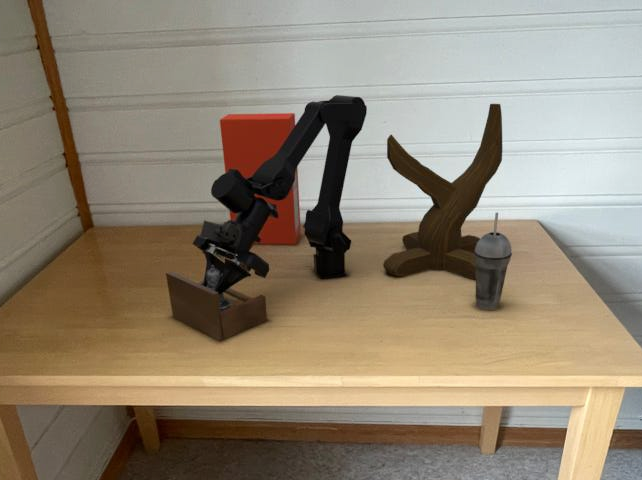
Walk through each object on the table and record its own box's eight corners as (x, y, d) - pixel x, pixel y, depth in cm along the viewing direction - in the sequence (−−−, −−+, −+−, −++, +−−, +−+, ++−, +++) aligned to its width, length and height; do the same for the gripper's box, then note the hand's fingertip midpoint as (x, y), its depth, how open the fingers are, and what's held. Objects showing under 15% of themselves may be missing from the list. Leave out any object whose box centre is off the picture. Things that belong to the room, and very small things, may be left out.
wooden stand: (458, 236, 170) (469, 95, 152) (523, 273, 146) (545, 111, 128) (357, 252, 163) (357, 106, 145) (409, 294, 139) (416, 126, 121)
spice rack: (219, 299, 141) (214, 256, 136) (267, 320, 130) (263, 275, 125) (172, 317, 134) (165, 272, 129) (219, 341, 123) (213, 294, 118)
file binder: (295, 245, 169) (288, 118, 153) (232, 244, 172) (219, 119, 156) (300, 235, 176) (294, 112, 160) (240, 234, 179) (228, 114, 163)
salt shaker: (205, 314, 135) (198, 260, 129) (233, 312, 135) (227, 258, 129) (204, 326, 129) (196, 271, 123) (233, 324, 130) (227, 269, 124)
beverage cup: (506, 300, 134) (518, 206, 124) (504, 315, 128) (516, 217, 118) (471, 296, 136) (479, 204, 126) (467, 311, 130) (475, 215, 120)
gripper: (194, 195, 129) (156, 262, 128) (252, 212, 117) (210, 286, 116) (229, 223, 137) (193, 286, 136) (287, 242, 125) (248, 311, 124)
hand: (209, 292), depth 128 cm, fingers closed on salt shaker, 3 cm apart
